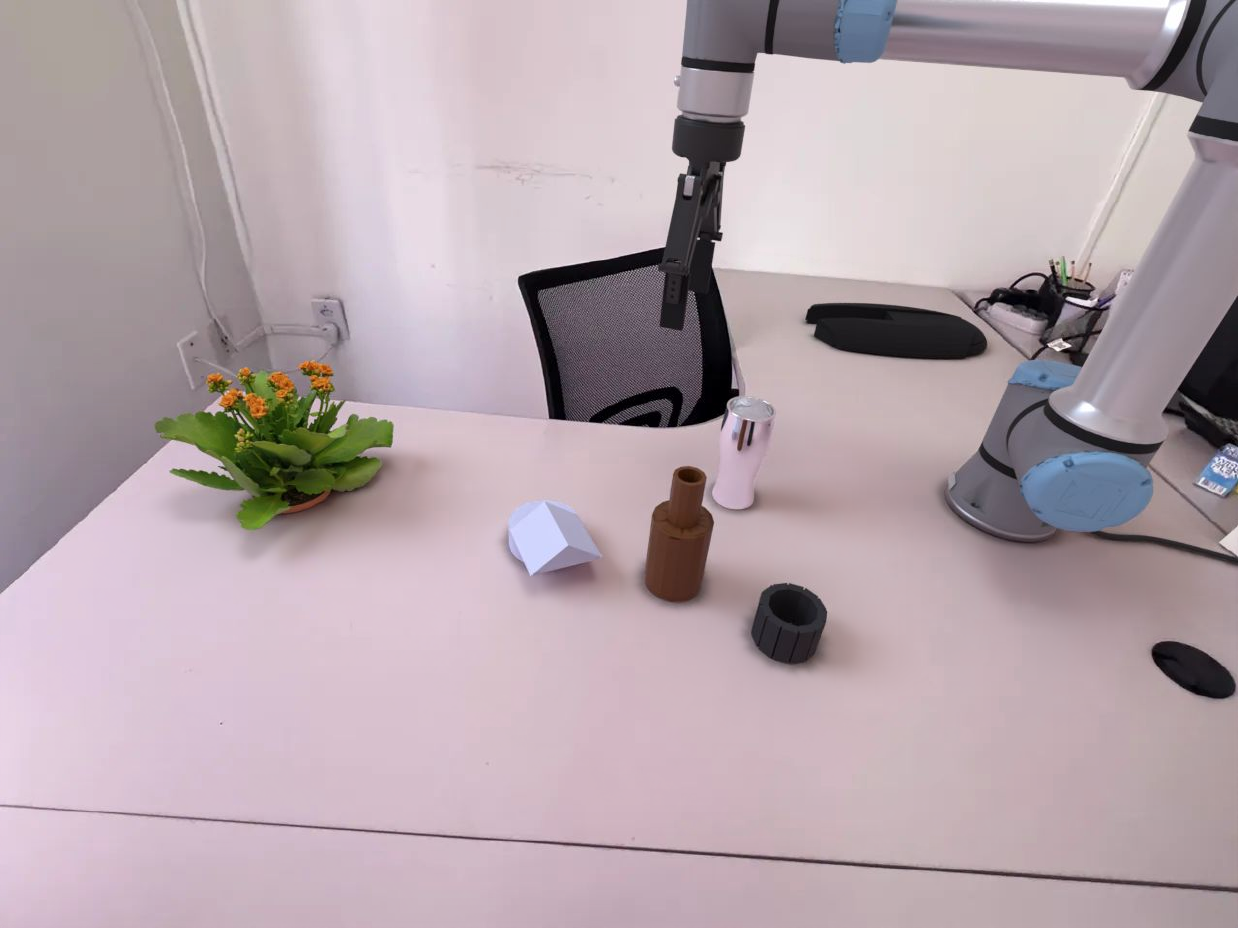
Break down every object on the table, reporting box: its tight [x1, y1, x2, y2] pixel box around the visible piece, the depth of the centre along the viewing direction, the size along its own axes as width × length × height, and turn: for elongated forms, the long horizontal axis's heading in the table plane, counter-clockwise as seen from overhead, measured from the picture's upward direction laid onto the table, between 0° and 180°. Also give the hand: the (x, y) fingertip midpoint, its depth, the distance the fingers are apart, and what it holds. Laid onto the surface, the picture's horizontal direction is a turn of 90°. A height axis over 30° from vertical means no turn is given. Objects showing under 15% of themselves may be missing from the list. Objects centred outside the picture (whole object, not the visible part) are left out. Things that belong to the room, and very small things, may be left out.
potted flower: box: [153, 360, 395, 531], centre depth 83 cm, size 25×24×18 cm
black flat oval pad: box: [804, 302, 988, 359], centre depth 149 cm, size 25×41×5 cm, turn 89°
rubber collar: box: [750, 582, 828, 665], centre depth 72 cm, size 7×7×5 cm
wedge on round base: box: [507, 499, 604, 577], centre depth 81 cm, size 9×7×13 cm
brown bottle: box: [644, 465, 715, 603], centre depth 75 cm, size 7×7×16 cm
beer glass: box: [711, 395, 777, 510], centre depth 91 cm, size 7×7×15 cm
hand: (685, 308), depth 81 cm, fingers open, 13 cm apart
